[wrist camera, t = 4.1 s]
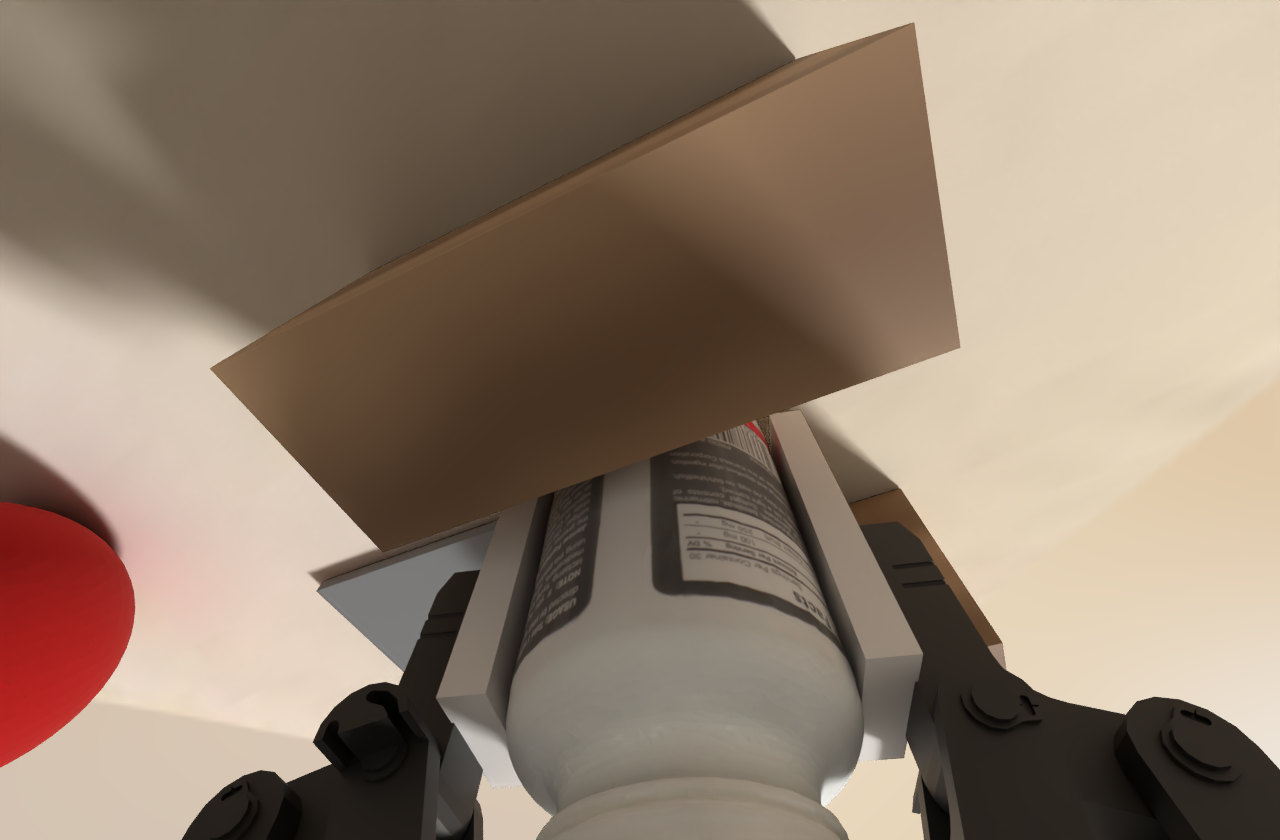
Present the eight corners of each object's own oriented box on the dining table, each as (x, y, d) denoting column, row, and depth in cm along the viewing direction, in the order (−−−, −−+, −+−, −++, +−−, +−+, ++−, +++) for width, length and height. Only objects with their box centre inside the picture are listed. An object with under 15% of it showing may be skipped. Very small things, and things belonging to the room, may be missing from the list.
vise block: (366, 273, 12) (209, 368, 8) (797, 58, 10) (914, 23, 6) (618, 631, 18) (609, 793, 14) (914, 548, 16) (1011, 709, 12)
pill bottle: (620, 562, 16) (593, 1085, 7) (524, 424, 13) (317, 981, 5) (795, 502, 14) (1001, 1052, 6) (726, 337, 12) (914, 884, 4)
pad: (323, 581, 17) (316, 591, 17) (525, 510, 16) (522, 519, 15) (475, 724, 21) (472, 735, 21) (647, 680, 20) (647, 691, 19)
